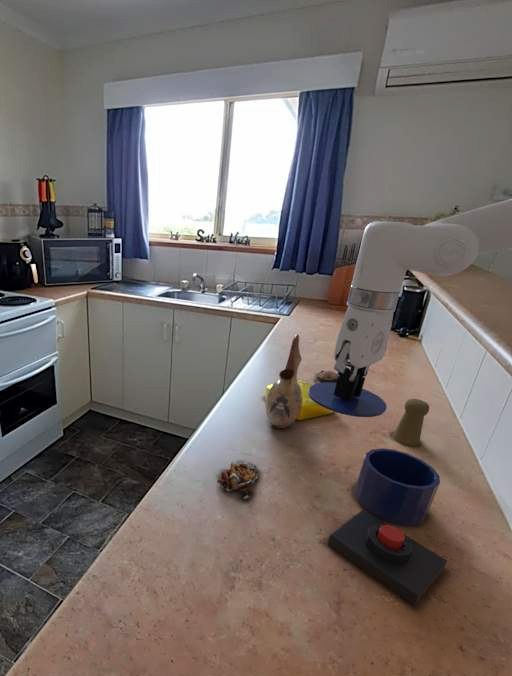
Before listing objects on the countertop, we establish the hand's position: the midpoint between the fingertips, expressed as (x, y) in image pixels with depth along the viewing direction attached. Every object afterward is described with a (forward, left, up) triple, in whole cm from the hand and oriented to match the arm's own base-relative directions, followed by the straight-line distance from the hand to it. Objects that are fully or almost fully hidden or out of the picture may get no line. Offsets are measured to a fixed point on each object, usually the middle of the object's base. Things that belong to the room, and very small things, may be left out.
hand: (346, 395), depth 74 cm
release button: (-16, +8, -18) cm, 25 cm away
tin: (-10, -7, -21) cm, 25 cm away
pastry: (+12, +13, -21) cm, 28 cm away
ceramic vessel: (+22, -14, -21) cm, 33 cm away
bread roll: (+31, -53, -21) cm, 65 cm away
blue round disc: (0, 0, -1) cm, 1 cm away
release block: (-16, +8, -21) cm, 28 cm away
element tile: (+26, -28, -21) cm, 43 cm away
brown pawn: (-1, -36, -21) cm, 42 cm away
